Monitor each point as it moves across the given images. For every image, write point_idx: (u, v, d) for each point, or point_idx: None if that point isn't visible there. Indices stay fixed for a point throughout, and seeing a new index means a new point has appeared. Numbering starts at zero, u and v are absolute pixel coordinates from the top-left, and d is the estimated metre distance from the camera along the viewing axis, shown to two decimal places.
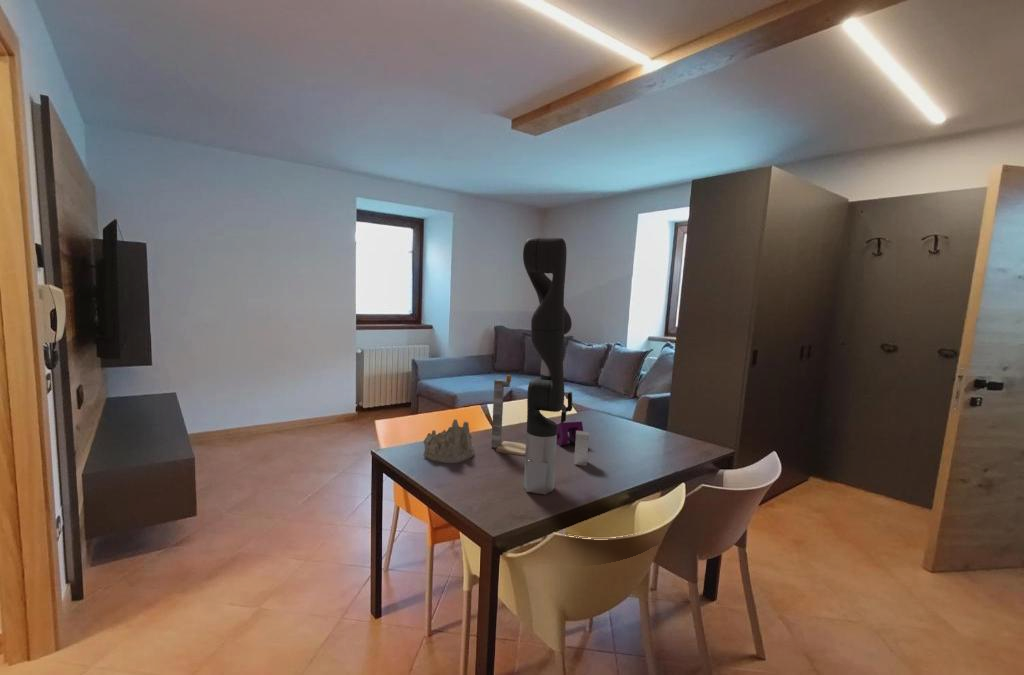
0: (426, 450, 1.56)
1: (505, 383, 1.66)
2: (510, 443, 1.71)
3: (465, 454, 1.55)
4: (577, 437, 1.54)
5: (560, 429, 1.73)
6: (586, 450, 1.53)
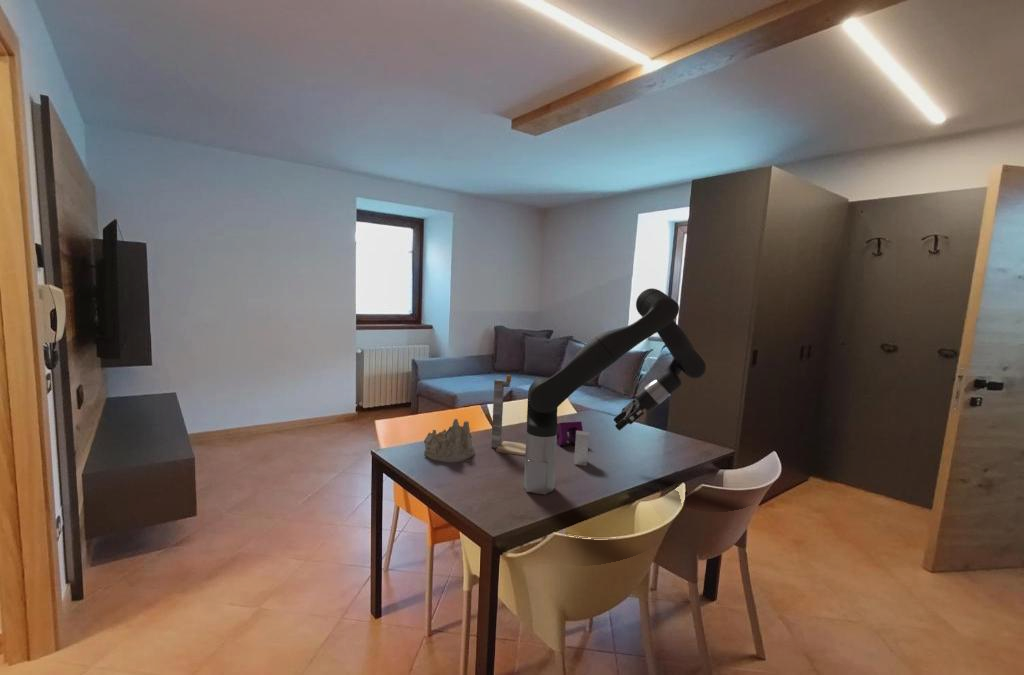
0: (426, 449, 1.57)
1: (505, 383, 1.66)
2: (510, 443, 1.71)
3: (465, 453, 1.56)
4: (577, 437, 1.54)
5: (560, 429, 1.73)
6: (586, 450, 1.53)
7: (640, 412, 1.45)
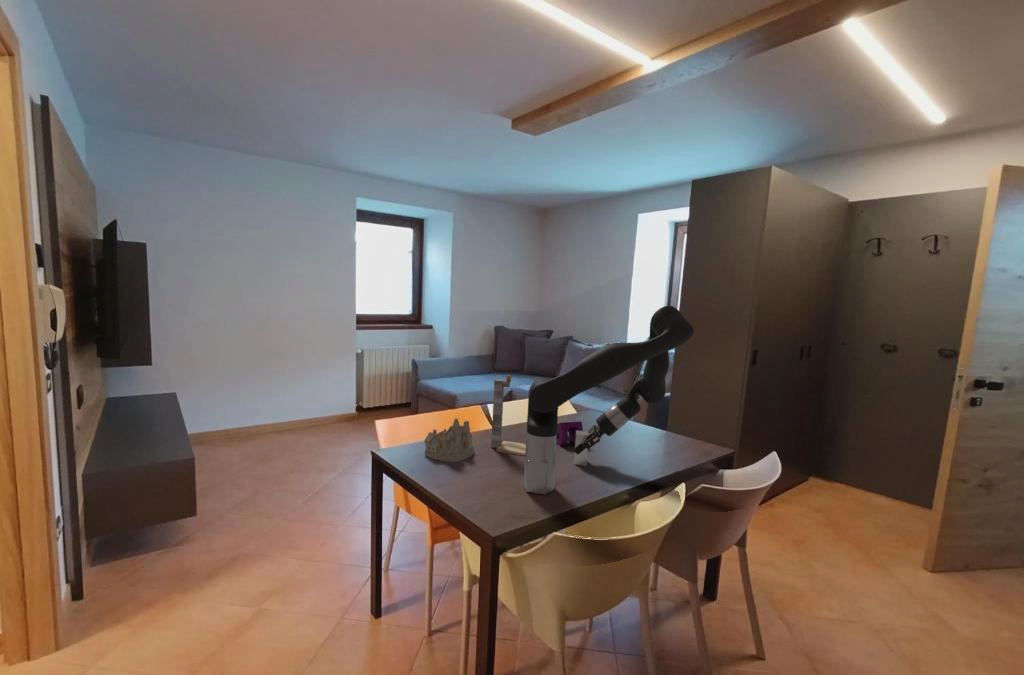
0: (427, 449, 1.57)
1: (505, 383, 1.66)
2: (510, 443, 1.71)
3: (466, 453, 1.56)
4: (577, 437, 1.54)
5: (560, 429, 1.73)
6: (586, 450, 1.53)
7: (596, 439, 1.48)
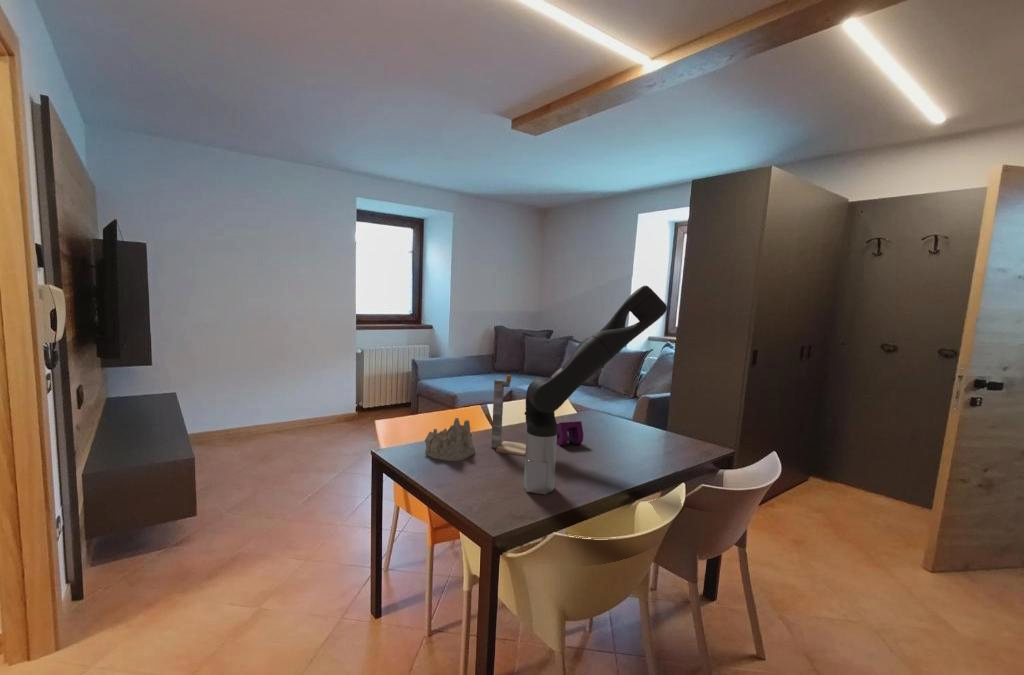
0: (427, 448, 1.58)
1: (505, 383, 1.66)
2: (510, 443, 1.71)
3: (466, 452, 1.57)
4: None
5: (560, 429, 1.73)
6: None
7: None
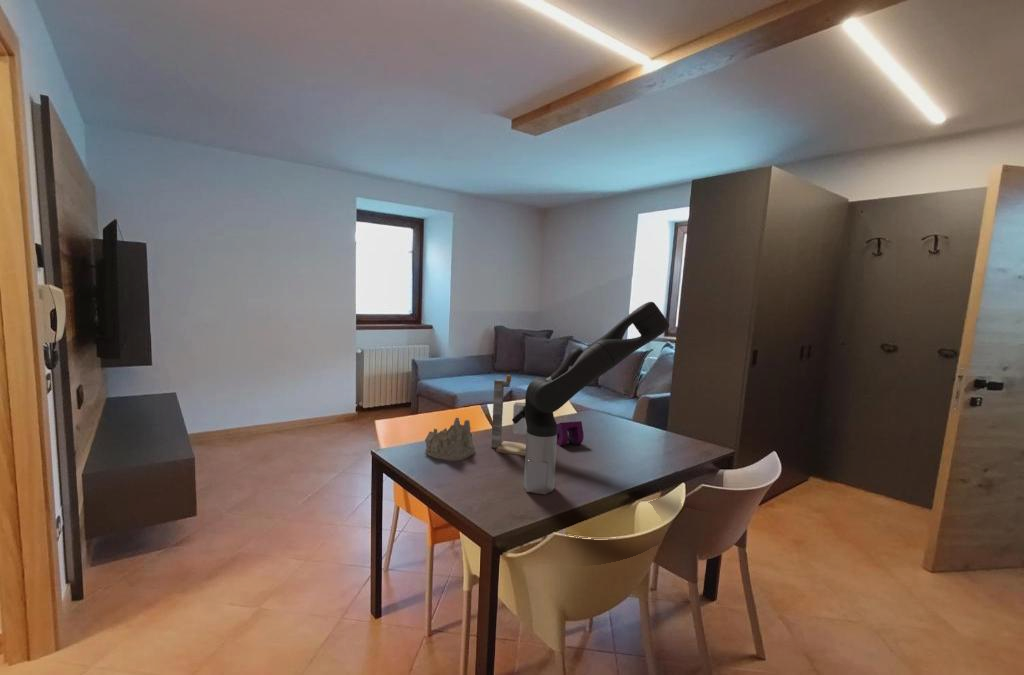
0: (428, 448, 1.58)
1: (505, 383, 1.66)
2: (510, 443, 1.71)
3: (466, 452, 1.57)
4: (515, 408, 1.64)
5: (560, 429, 1.73)
6: (523, 420, 1.64)
7: None
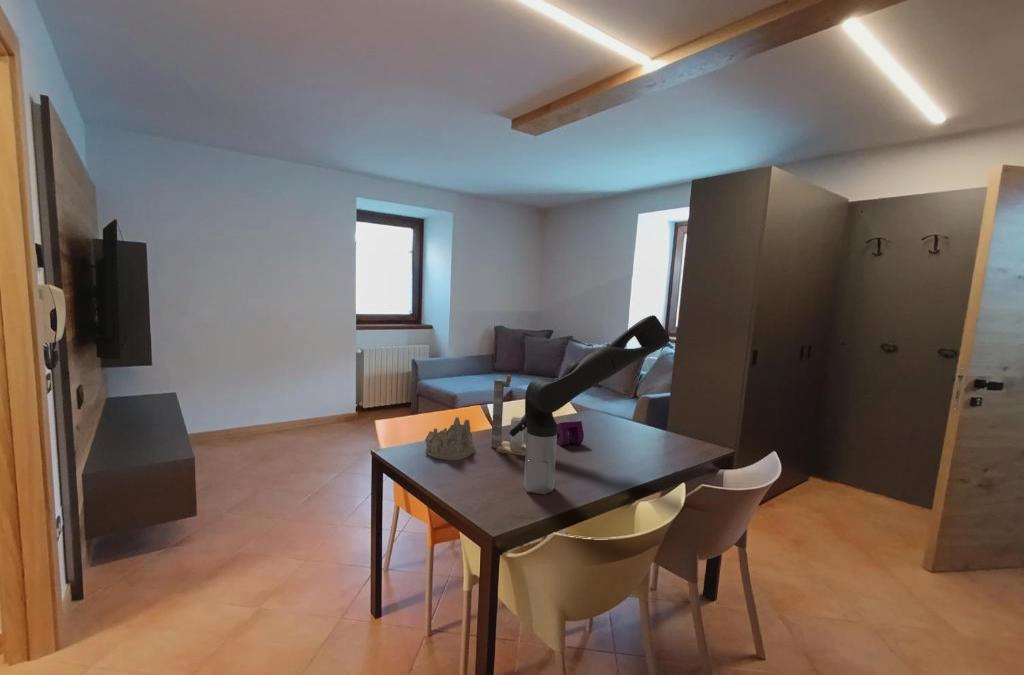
0: (428, 448, 1.59)
1: (505, 383, 1.66)
2: None
3: (466, 451, 1.58)
4: (512, 423, 1.64)
5: (561, 429, 1.73)
6: (520, 435, 1.64)
7: None
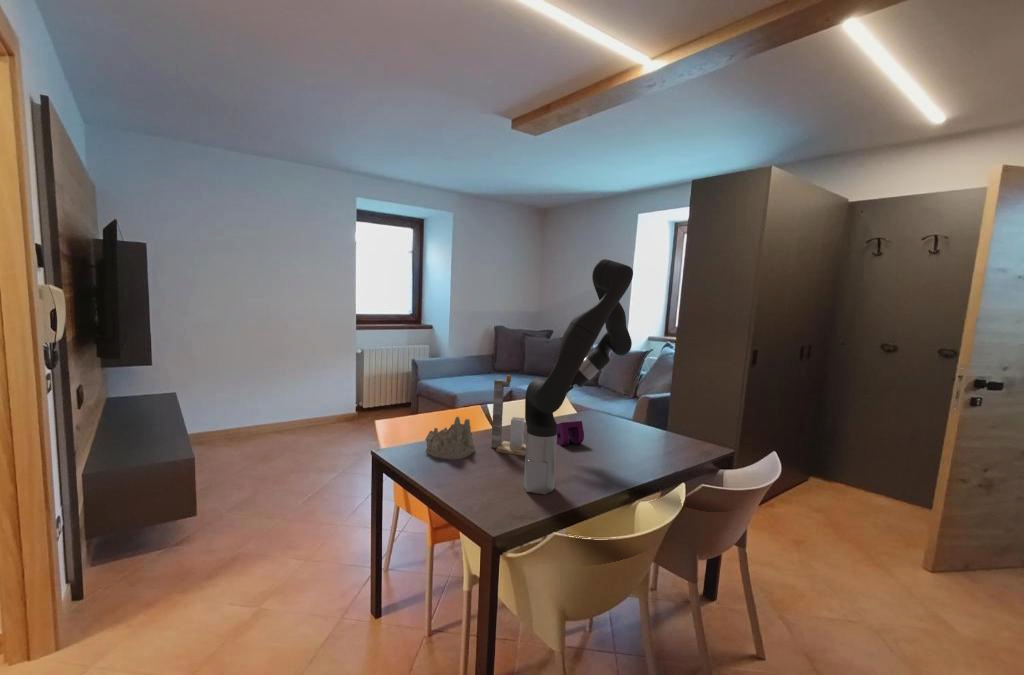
0: (428, 447, 1.59)
1: (505, 383, 1.66)
2: None
3: (467, 450, 1.59)
4: (512, 423, 1.64)
5: (561, 429, 1.73)
6: (520, 435, 1.64)
7: (569, 386, 1.55)
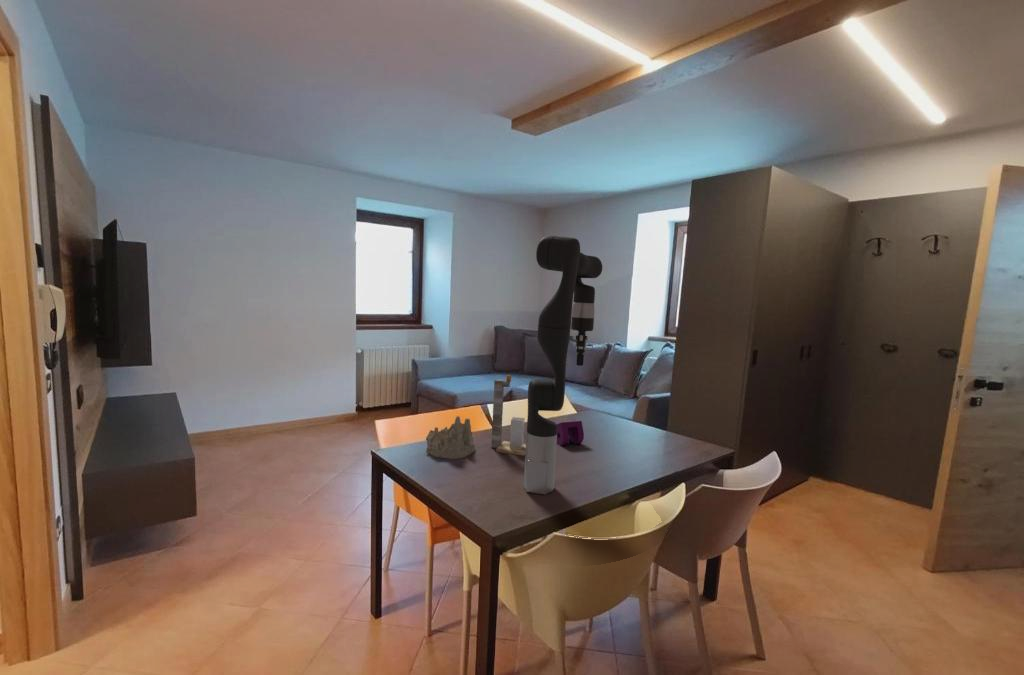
0: (429, 447, 1.60)
1: (505, 383, 1.66)
2: None
3: (467, 450, 1.59)
4: (512, 423, 1.64)
5: (561, 429, 1.73)
6: (520, 435, 1.64)
7: (582, 337, 1.42)
